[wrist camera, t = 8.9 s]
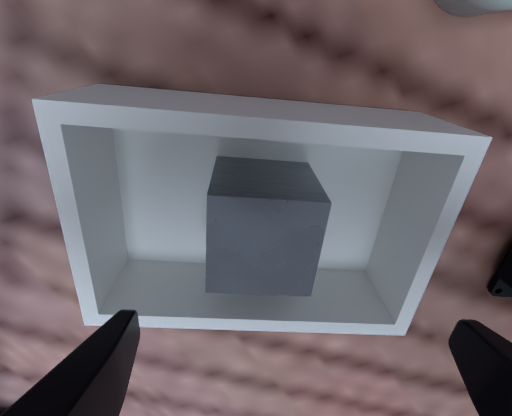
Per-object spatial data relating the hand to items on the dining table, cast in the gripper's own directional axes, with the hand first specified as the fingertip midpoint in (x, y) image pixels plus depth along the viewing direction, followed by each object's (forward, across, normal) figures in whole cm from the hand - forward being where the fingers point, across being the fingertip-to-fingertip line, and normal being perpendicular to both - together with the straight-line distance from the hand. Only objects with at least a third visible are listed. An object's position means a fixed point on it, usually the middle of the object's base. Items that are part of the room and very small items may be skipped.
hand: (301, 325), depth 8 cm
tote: (+11, +1, +1) cm, 11 cm away
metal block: (+10, +1, +1) cm, 10 cm away
